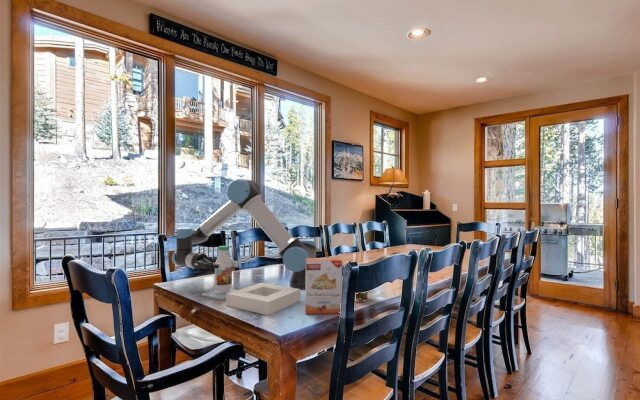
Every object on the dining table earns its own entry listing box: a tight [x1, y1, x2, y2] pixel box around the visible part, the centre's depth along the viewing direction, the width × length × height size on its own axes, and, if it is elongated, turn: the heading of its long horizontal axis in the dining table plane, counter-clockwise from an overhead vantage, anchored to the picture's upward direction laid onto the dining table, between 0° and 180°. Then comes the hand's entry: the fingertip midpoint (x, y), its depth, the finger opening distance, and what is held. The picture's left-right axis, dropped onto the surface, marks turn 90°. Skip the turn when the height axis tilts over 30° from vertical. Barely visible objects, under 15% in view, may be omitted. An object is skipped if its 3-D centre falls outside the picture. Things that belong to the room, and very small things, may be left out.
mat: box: [200, 288, 237, 301], centre depth 159 cm, size 14×14×1 cm
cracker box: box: [304, 257, 343, 315], centre depth 134 cm, size 14×6×21 cm, turn 95°
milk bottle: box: [214, 245, 233, 291], centre depth 159 cm, size 8×8×20 cm
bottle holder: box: [225, 282, 301, 316], centre depth 145 cm, size 22×22×5 cm
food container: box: [356, 291, 369, 301], centre depth 152 cm, size 12×6×10 cm, turn 168°
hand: (231, 265), depth 156 cm, fingers closed on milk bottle, 7 cm apart
